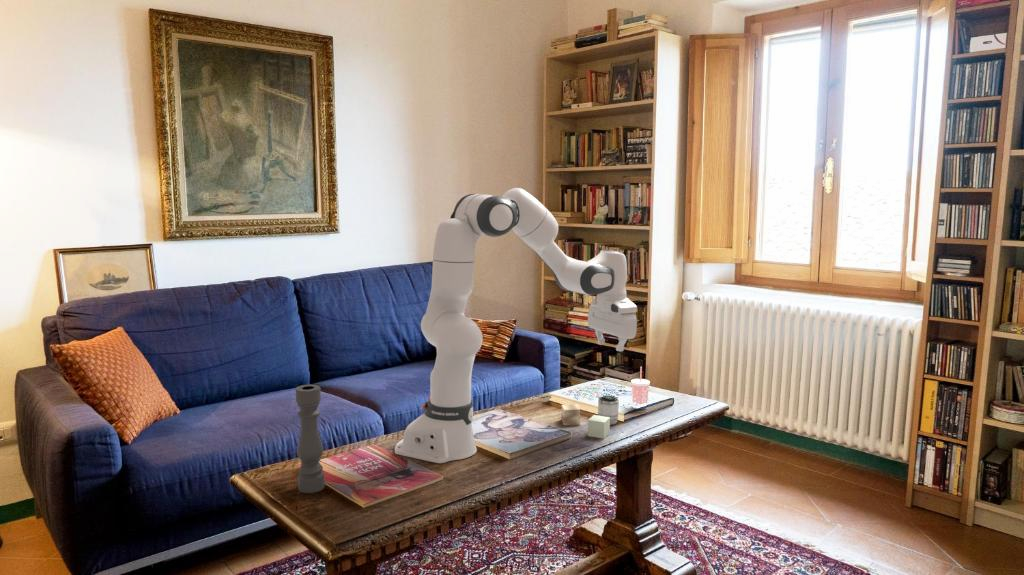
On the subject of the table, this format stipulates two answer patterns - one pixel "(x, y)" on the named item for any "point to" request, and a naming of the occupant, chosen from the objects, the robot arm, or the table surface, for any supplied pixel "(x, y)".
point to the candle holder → (309, 440)
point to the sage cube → (598, 426)
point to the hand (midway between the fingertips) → (610, 347)
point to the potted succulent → (608, 408)
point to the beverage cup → (640, 389)
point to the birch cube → (570, 414)
